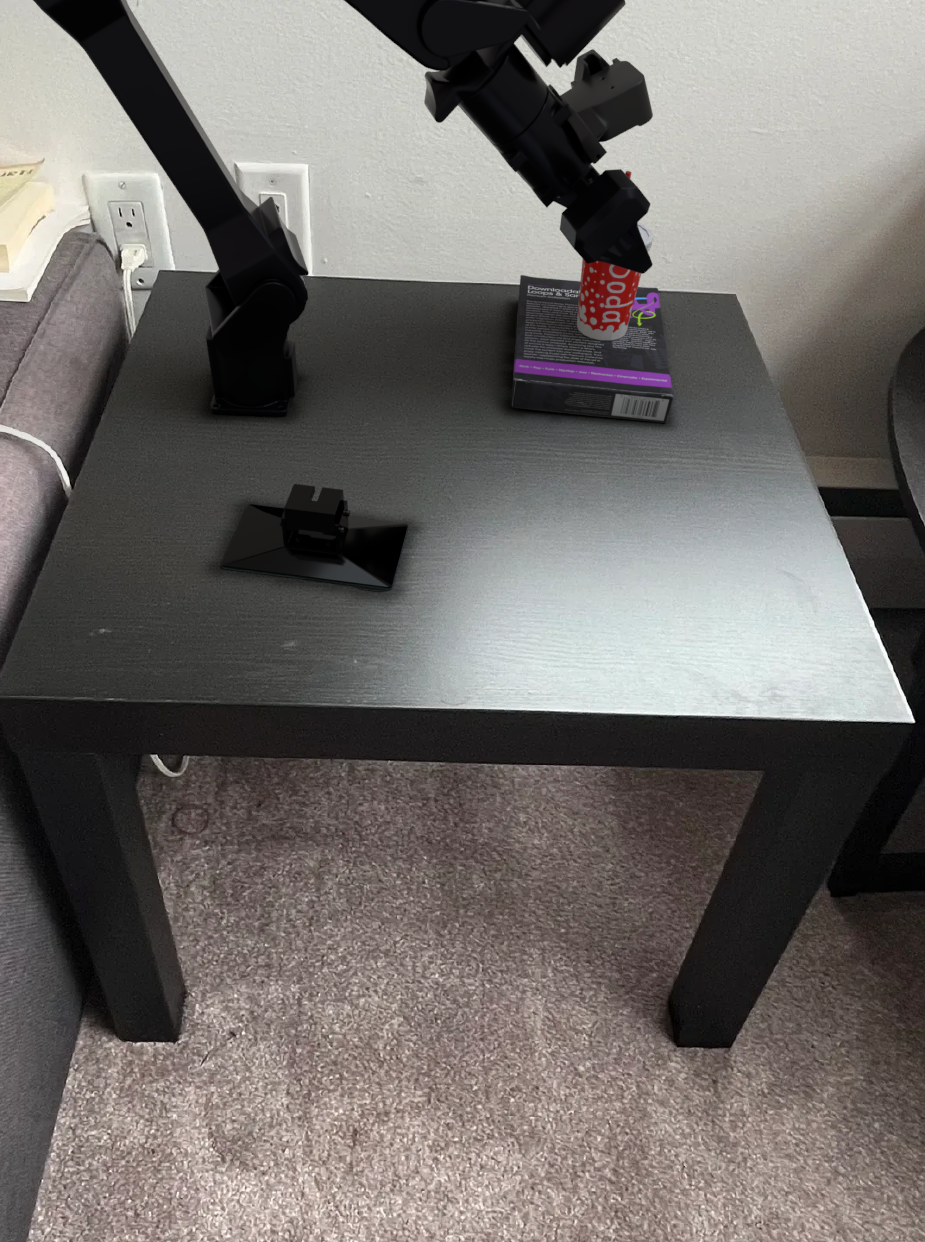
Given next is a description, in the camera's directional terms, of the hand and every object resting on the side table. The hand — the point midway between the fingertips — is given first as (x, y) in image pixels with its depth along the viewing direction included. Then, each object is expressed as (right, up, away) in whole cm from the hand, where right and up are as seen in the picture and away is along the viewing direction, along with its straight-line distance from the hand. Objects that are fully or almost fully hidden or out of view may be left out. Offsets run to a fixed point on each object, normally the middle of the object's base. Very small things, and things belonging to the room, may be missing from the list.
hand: (626, 244), depth 85 cm
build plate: (-25, -27, -12) cm, 39 cm away
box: (-2, -8, +8) cm, 12 cm away
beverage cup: (-1, -6, +6) cm, 8 cm away
